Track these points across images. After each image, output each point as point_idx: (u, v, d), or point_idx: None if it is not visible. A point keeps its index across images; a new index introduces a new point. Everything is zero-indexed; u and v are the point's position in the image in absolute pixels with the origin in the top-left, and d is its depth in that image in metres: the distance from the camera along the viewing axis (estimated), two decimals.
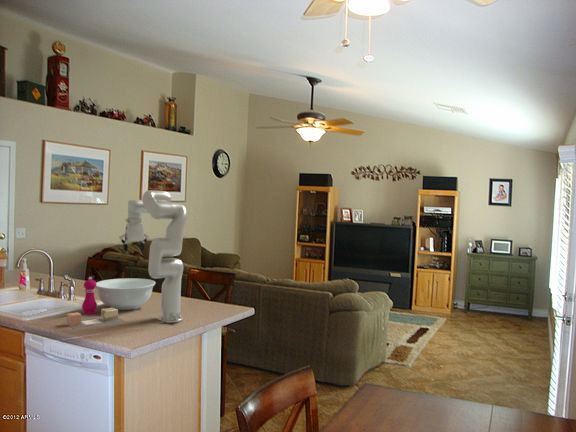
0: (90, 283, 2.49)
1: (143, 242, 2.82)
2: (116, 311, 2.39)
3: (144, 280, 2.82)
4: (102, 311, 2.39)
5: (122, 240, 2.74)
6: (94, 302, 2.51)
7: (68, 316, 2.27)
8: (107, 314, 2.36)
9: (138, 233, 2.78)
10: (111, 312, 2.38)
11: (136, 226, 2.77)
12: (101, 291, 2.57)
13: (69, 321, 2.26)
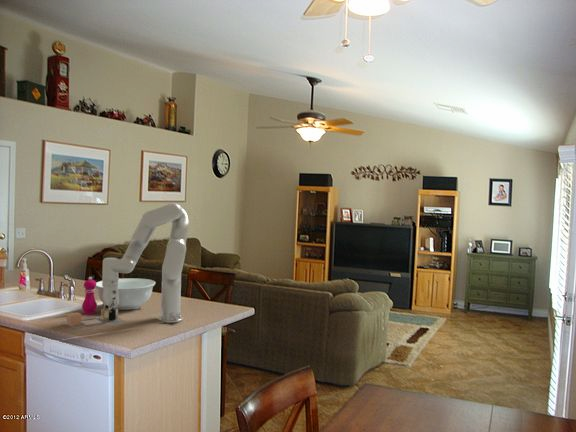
0: (90, 283, 2.49)
1: (109, 307, 2.44)
2: (116, 311, 2.39)
3: (144, 280, 2.82)
4: (102, 311, 2.39)
5: (116, 308, 2.36)
6: (94, 302, 2.51)
7: (68, 316, 2.27)
8: (107, 314, 2.36)
9: None
10: None
11: None
12: (101, 291, 2.57)
13: (69, 321, 2.26)
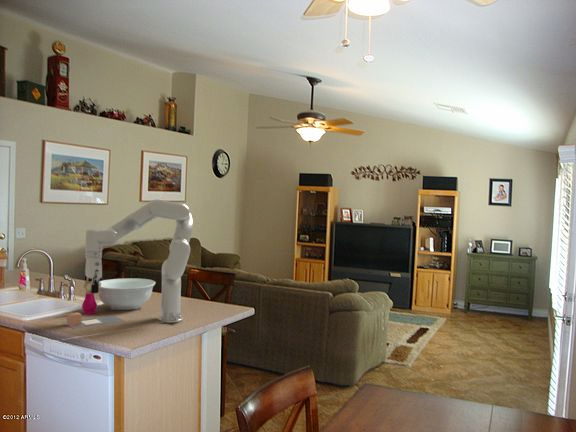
0: None
1: (92, 280, 2.37)
2: (99, 284, 2.33)
3: (144, 280, 2.82)
4: (85, 284, 2.33)
5: None
6: (94, 302, 2.51)
7: (68, 316, 2.27)
8: (89, 286, 2.30)
9: None
10: None
11: None
12: (101, 291, 2.57)
13: (69, 321, 2.26)
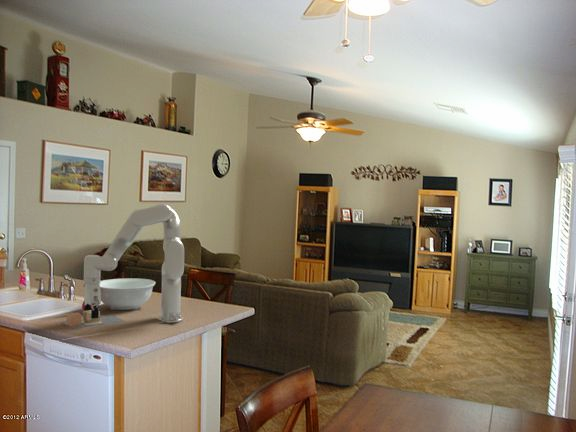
0: None
1: None
2: None
3: (144, 280, 2.82)
4: (84, 313, 2.33)
5: None
6: None
7: (68, 316, 2.27)
8: (89, 316, 2.30)
9: None
10: None
11: None
12: (101, 291, 2.57)
13: (69, 321, 2.26)
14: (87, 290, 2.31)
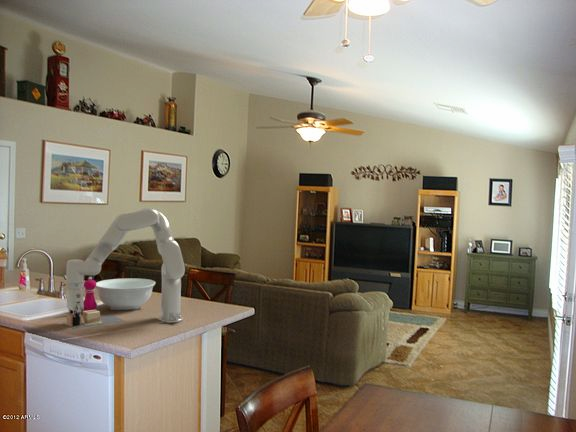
0: (90, 283, 2.49)
1: None
2: (98, 313, 2.33)
3: (144, 280, 2.82)
4: (84, 313, 2.33)
5: (80, 312, 2.25)
6: (94, 302, 2.51)
7: (68, 316, 2.27)
8: (89, 316, 2.30)
9: None
10: (93, 314, 2.32)
11: None
12: (101, 291, 2.57)
13: (69, 321, 2.26)
14: (69, 295, 2.26)
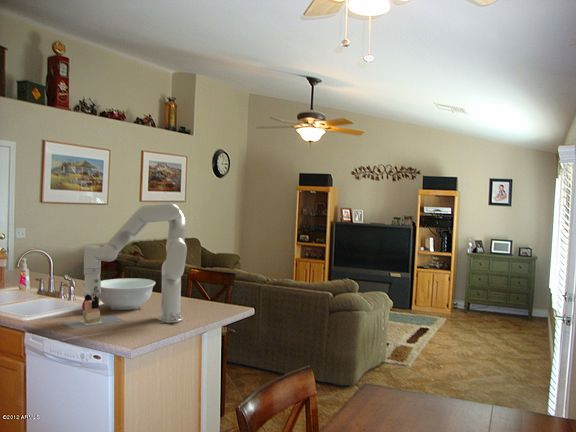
0: None
1: (90, 294, 2.38)
2: (98, 313, 2.33)
3: (144, 280, 2.82)
4: (84, 313, 2.33)
5: (99, 296, 2.29)
6: None
7: (86, 303, 2.32)
8: (88, 316, 2.30)
9: None
10: (93, 314, 2.32)
11: None
12: (101, 291, 2.57)
13: (87, 308, 2.31)
14: (87, 280, 2.31)
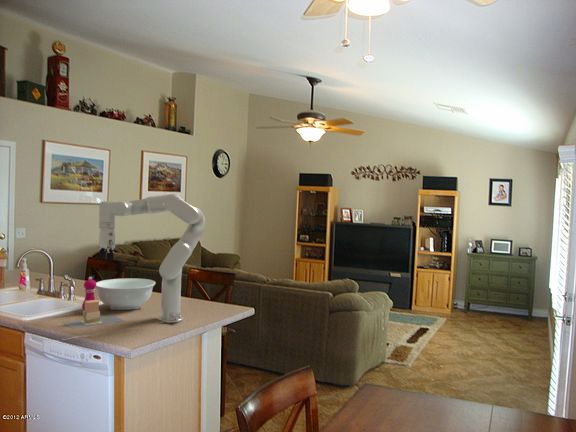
0: (90, 283, 2.49)
1: (104, 249, 2.48)
2: (98, 313, 2.33)
3: (144, 280, 2.82)
4: (84, 313, 2.33)
5: None
6: None
7: (86, 303, 2.32)
8: (88, 316, 2.30)
9: None
10: (93, 314, 2.32)
11: None
12: (101, 291, 2.57)
13: (87, 308, 2.31)
14: (102, 234, 2.41)
